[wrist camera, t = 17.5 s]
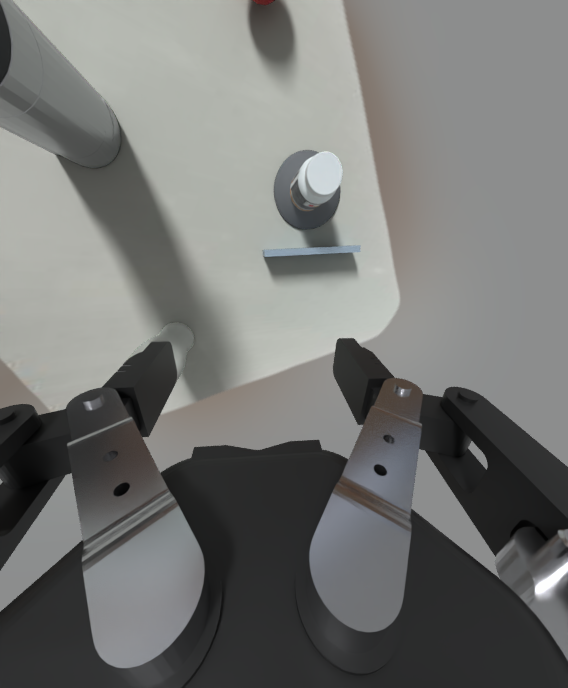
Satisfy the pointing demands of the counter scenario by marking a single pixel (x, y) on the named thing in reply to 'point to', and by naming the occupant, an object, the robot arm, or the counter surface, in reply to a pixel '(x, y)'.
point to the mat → (285, 202)
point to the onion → (263, 1)
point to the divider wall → (310, 251)
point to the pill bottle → (316, 181)
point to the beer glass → (173, 343)
